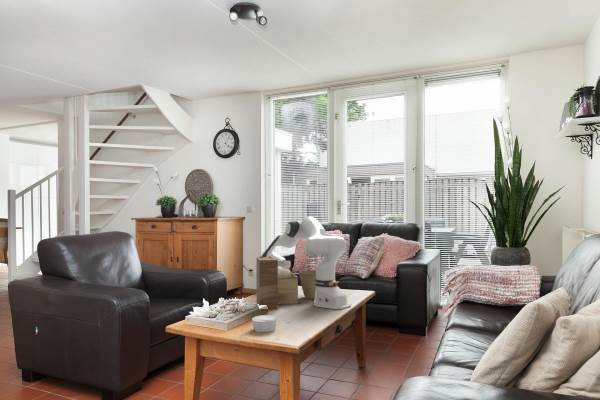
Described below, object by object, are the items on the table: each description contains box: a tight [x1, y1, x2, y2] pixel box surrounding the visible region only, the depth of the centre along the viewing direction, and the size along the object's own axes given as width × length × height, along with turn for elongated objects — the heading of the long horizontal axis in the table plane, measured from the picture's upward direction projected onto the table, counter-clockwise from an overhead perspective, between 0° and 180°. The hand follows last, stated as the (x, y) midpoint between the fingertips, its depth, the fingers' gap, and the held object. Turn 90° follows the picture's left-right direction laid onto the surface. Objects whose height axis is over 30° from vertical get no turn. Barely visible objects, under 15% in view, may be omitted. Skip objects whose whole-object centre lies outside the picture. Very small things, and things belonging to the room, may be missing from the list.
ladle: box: [278, 266, 291, 277], centre depth 260 cm, size 25×6×4 cm, turn 13°
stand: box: [256, 255, 299, 311], centre depth 247 cm, size 33×24×28 cm
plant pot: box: [298, 269, 316, 300], centre depth 260 cm, size 15×15×16 cm
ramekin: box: [251, 314, 277, 333], centre depth 192 cm, size 11×11×5 cm
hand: (277, 260), depth 276 cm, fingers open, 8 cm apart
